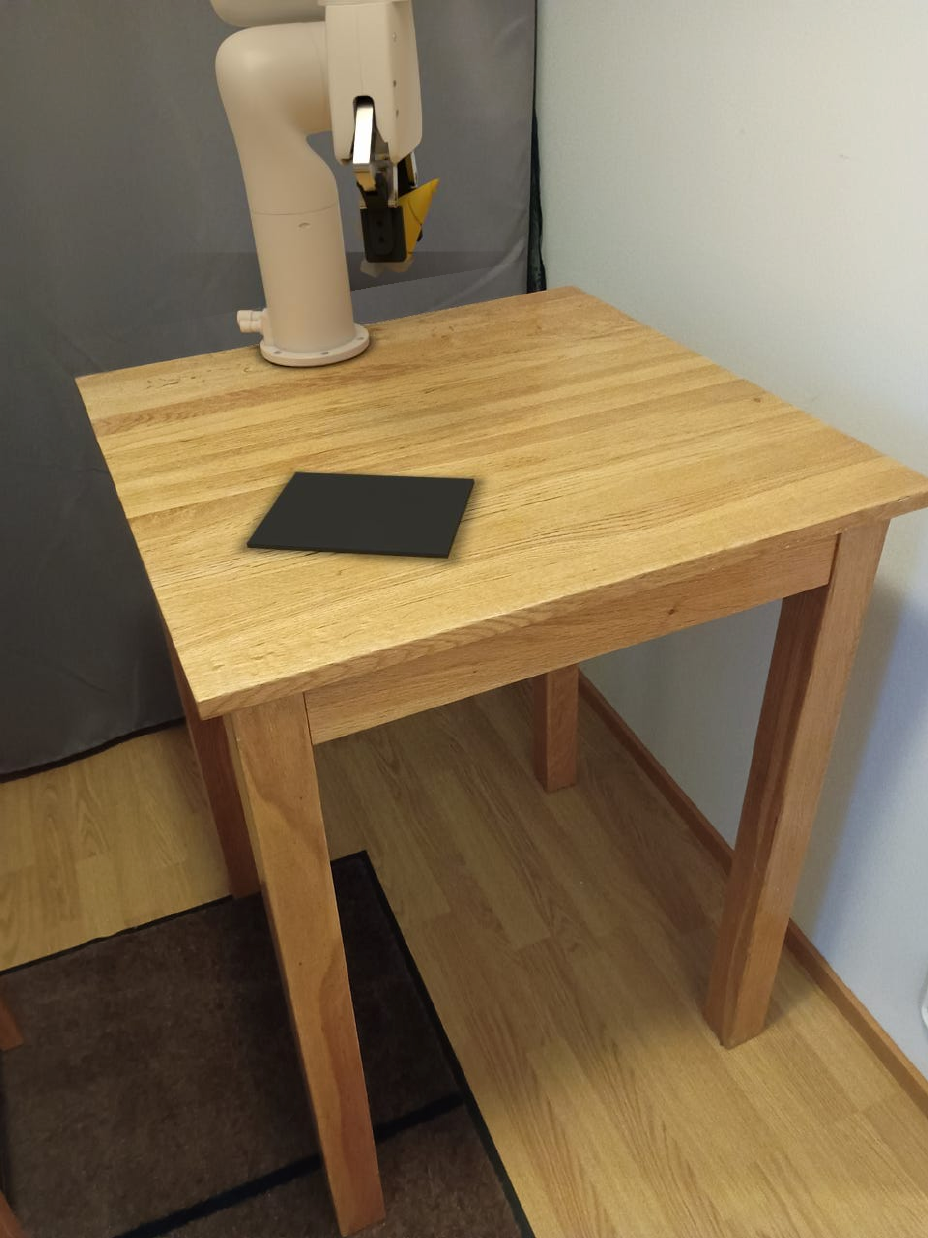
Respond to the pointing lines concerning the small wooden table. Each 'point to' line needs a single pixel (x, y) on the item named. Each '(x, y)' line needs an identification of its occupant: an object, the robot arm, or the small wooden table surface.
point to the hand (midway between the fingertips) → (395, 248)
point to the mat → (365, 514)
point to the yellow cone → (413, 217)
